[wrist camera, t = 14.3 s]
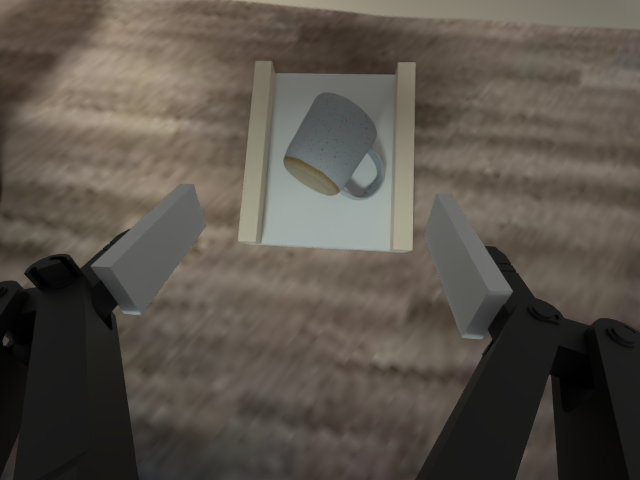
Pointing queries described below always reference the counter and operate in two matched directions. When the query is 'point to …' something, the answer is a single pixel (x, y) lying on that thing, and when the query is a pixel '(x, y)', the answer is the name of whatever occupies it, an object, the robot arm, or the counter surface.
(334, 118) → the ceramic mug
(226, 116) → the counter surface
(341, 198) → the rail tray
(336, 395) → the counter surface
